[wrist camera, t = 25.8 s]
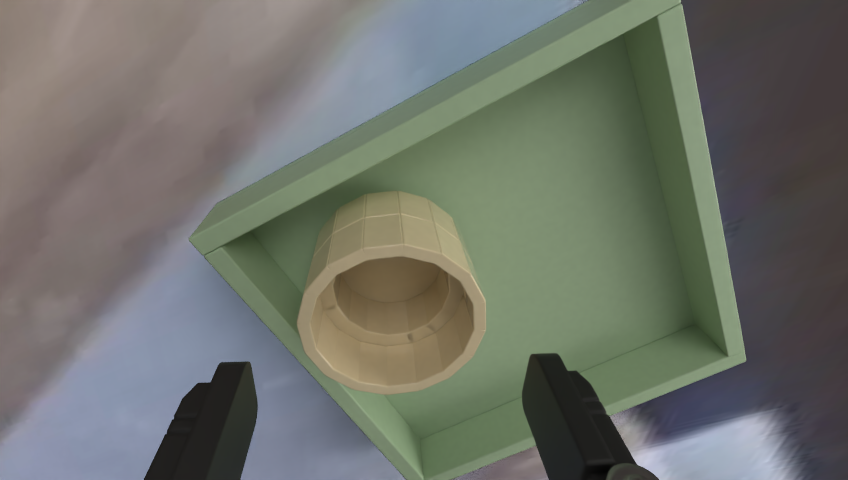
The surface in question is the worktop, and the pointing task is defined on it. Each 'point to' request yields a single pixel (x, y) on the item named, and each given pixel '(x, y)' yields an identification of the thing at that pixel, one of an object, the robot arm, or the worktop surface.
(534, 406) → the robot arm
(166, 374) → the worktop surface
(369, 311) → the beige cup
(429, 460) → the tray
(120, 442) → the worktop surface
